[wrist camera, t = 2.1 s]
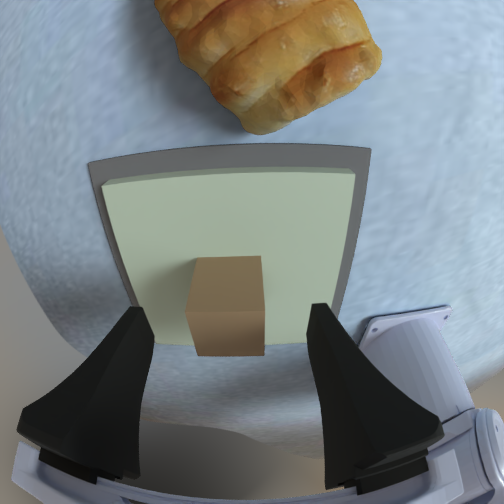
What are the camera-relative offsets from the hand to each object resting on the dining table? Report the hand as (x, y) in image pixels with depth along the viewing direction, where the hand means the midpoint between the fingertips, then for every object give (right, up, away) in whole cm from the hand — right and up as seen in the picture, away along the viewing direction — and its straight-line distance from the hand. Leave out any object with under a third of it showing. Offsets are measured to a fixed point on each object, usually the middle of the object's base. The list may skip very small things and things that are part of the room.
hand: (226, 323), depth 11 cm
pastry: (+1, +12, -3) cm, 12 cm away
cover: (0, +2, +3) cm, 4 cm away
